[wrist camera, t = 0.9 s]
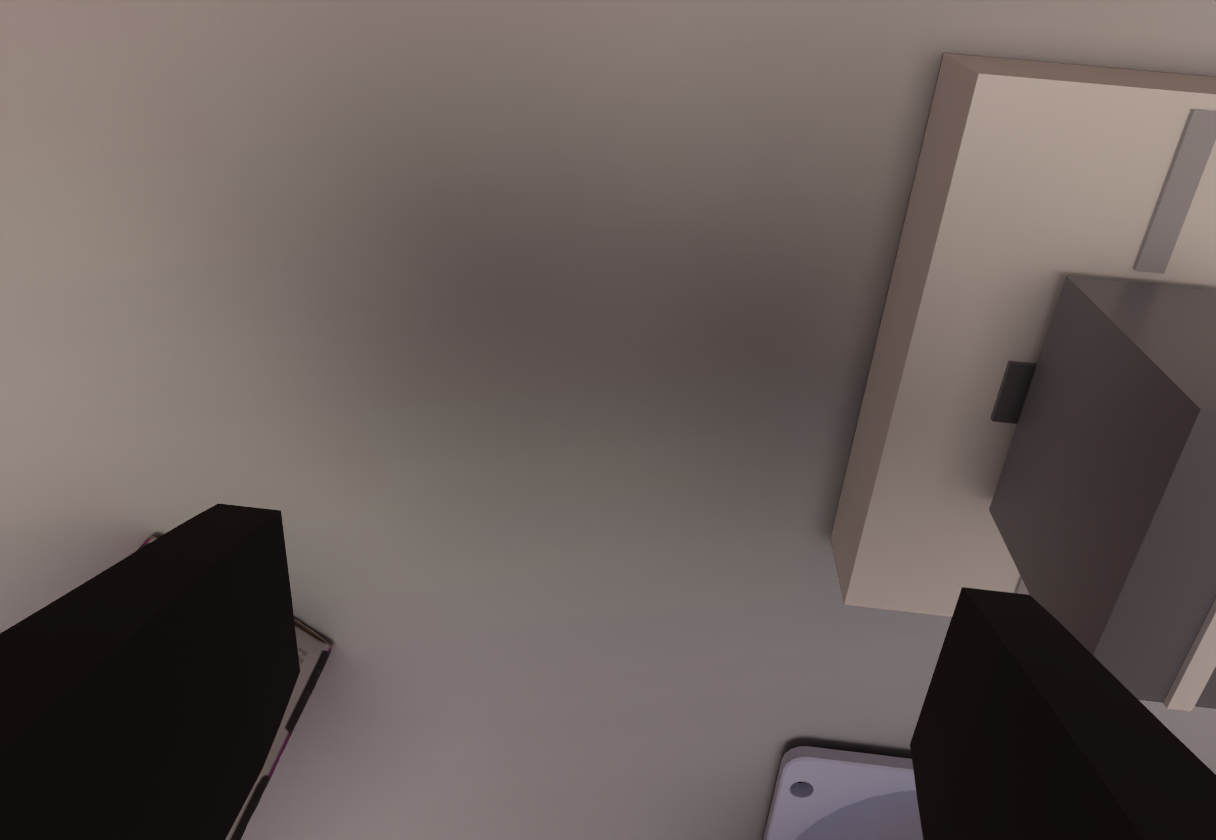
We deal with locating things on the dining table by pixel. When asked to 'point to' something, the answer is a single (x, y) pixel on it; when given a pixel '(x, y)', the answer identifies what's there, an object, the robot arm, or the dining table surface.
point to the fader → (1123, 483)
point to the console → (1007, 296)
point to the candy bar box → (311, 665)
